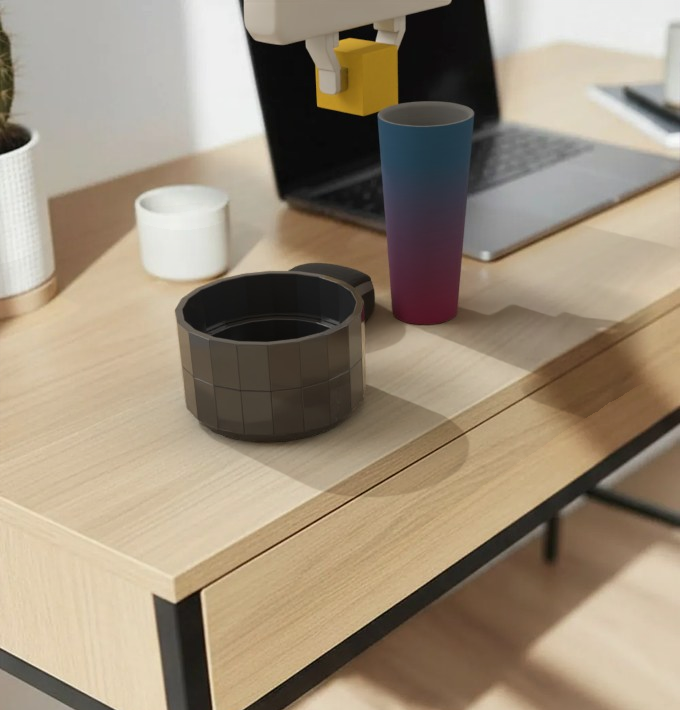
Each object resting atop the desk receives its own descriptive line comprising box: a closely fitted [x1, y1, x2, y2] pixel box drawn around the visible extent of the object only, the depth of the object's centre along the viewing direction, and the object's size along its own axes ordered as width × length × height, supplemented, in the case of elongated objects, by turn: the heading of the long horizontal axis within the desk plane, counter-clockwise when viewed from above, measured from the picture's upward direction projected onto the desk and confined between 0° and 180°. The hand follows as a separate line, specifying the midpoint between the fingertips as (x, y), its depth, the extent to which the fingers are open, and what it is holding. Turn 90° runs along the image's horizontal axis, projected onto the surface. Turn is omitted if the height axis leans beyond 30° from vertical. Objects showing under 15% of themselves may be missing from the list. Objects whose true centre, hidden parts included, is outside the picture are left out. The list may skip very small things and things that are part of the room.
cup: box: [377, 100, 475, 325], centre depth 89 cm, size 7×7×15 cm
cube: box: [314, 37, 399, 117], centre depth 93 cm, size 5×4×4 cm
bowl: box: [174, 270, 367, 443], centre depth 79 cm, size 12×12×7 cm
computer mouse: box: [287, 262, 376, 322], centre depth 90 cm, size 7×12×4 cm, turn 149°
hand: (358, 85), depth 93 cm, fingers closed on cube, 4 cm apart
